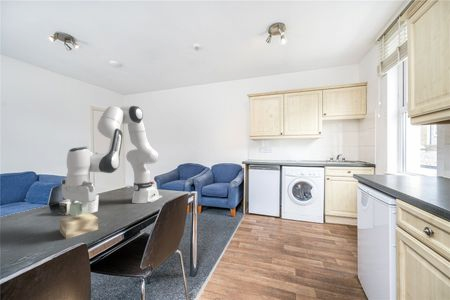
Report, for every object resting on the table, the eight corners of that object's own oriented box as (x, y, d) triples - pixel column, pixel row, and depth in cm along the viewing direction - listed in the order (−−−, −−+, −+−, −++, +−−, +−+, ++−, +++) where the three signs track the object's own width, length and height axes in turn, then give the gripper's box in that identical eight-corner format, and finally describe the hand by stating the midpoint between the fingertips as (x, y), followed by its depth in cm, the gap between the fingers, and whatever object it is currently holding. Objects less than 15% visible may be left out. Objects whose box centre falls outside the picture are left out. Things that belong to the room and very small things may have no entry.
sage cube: (81, 211, 91) (81, 201, 91) (87, 212, 90) (87, 202, 90) (69, 214, 87) (69, 204, 87) (76, 216, 85) (76, 205, 85)
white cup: (90, 214, 110) (90, 197, 109) (79, 213, 111) (79, 197, 111) (101, 210, 117) (101, 194, 117) (91, 209, 119) (91, 193, 119)
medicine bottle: (58, 213, 111) (58, 194, 110) (71, 210, 117) (71, 191, 117) (66, 215, 108) (66, 195, 108) (79, 211, 115) (79, 192, 115)
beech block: (89, 223, 97) (89, 212, 97) (98, 229, 89) (98, 217, 89) (59, 231, 87) (59, 219, 87) (66, 239, 80) (66, 226, 80)
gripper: (99, 181, 87) (99, 210, 87) (73, 178, 95) (73, 205, 95) (85, 183, 81) (85, 214, 81) (58, 180, 89) (58, 208, 89)
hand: (78, 209), depth 88 cm, fingers closed on sage cube, 5 cm apart
